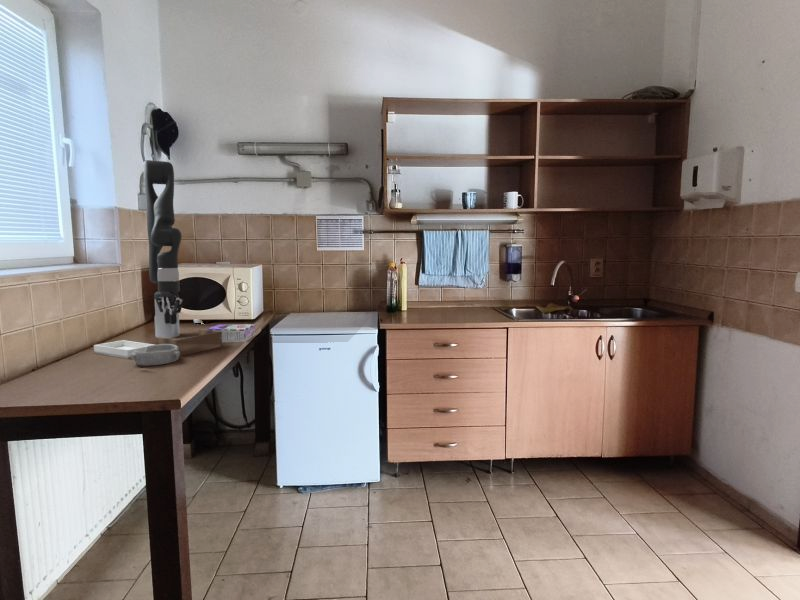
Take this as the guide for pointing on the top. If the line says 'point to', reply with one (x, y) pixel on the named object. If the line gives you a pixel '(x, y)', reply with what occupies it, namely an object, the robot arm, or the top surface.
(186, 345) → the bay
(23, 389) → the top surface
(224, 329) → the candy box
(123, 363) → the top surface
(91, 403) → the top surface
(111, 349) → the tray
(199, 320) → the mug
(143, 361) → the dish
